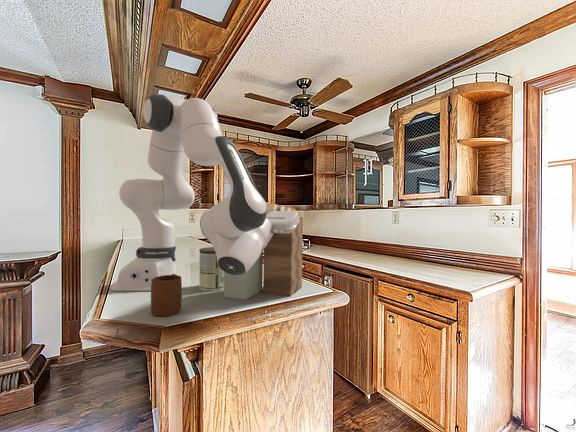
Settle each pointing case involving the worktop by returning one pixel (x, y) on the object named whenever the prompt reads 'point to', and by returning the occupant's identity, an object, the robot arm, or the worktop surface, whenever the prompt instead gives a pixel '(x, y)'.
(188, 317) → the worktop surface
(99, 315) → the worktop surface
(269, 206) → the tan wooden bar
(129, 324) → the worktop surface
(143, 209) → the robot arm
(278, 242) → the brown wooden block
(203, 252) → the coffee can
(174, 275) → the mug
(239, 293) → the shelf block
